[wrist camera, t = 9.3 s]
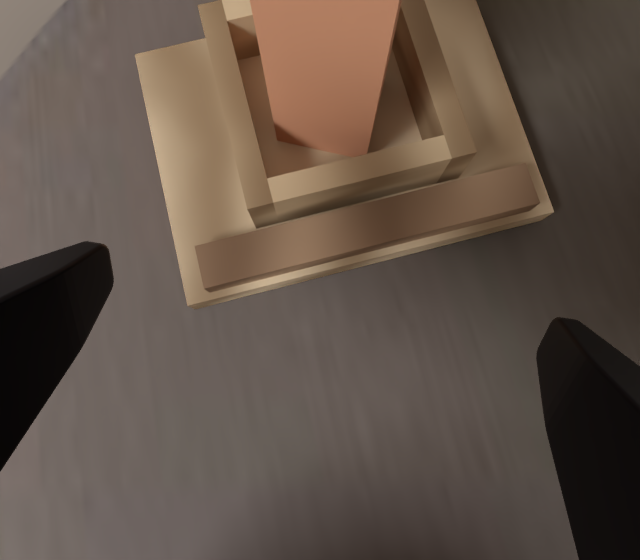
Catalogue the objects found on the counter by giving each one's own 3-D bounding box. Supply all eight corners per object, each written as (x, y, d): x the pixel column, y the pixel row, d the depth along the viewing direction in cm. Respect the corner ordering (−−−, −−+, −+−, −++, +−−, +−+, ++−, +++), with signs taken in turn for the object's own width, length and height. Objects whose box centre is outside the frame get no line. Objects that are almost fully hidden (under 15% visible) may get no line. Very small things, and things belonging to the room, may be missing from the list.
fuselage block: (366, 160, 21) (427, -118, 9) (276, 140, 21) (216, -159, 9) (385, 80, 21) (464, -278, 10) (297, 61, 22) (269, -311, 10)
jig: (195, 309, 21) (168, 296, 17) (144, 70, 23) (110, 14, 19) (541, 220, 21) (586, 190, 18) (460, -4, 23) (485, -71, 20)
